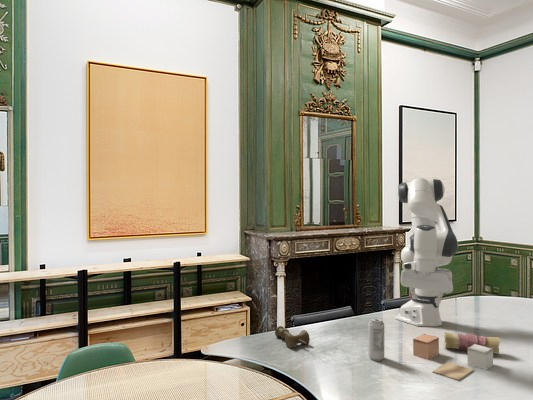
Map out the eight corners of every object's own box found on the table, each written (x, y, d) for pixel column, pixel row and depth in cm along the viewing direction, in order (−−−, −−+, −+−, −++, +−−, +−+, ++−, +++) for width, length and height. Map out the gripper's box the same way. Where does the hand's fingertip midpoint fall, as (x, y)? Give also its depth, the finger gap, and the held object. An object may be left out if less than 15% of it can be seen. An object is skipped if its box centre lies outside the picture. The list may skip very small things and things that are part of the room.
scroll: (497, 346, 161) (443, 340, 169) (498, 332, 158) (444, 326, 166) (500, 361, 154) (444, 353, 162) (501, 346, 152) (444, 339, 159)
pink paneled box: (413, 355, 156) (413, 338, 156) (424, 349, 162) (424, 333, 162) (427, 359, 151) (427, 342, 151) (438, 353, 157) (438, 337, 157)
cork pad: (432, 372, 140) (432, 371, 140) (447, 363, 148) (447, 361, 148) (458, 381, 133) (458, 379, 133) (473, 371, 141) (473, 369, 141)
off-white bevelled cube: (467, 364, 147) (467, 348, 147) (474, 359, 151) (474, 343, 151) (486, 369, 142) (486, 353, 142) (493, 364, 147) (493, 348, 147)
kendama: (287, 335, 180) (315, 348, 164) (270, 340, 175) (297, 353, 158) (287, 322, 181) (315, 333, 164) (269, 326, 175) (296, 338, 159)
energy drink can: (380, 354, 156) (379, 316, 156) (387, 360, 150) (387, 321, 151) (365, 355, 155) (365, 317, 155) (372, 361, 149) (372, 322, 149)
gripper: (455, 268, 151) (456, 304, 151) (406, 262, 166) (406, 295, 166) (448, 270, 147) (448, 307, 146) (398, 264, 162) (398, 297, 162)
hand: (426, 301), depth 156 cm, fingers open, 8 cm apart
